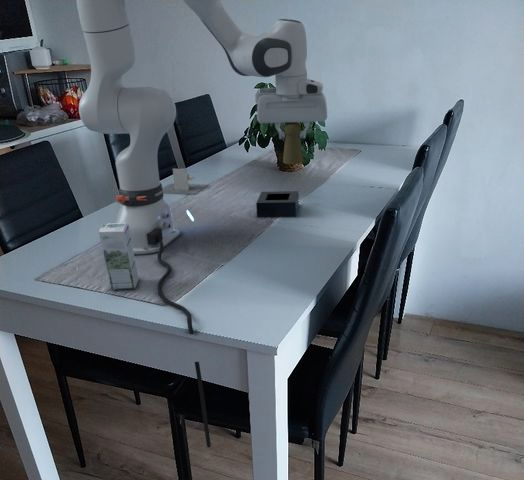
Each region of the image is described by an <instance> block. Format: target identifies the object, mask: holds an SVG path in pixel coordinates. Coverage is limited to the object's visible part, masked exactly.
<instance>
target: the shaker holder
mask: <svg viewBox="0 0 524 480" xmlns="http://www.w3.org/2000/svg"><path fill="white" fill-rule="evenodd" d="M299 196H300V195H299V190H283V191H279V190H277V191H273V190H272V191H261V192H260V194H259V195H258V198H257V201H256V202H255V204H256V205H255V206H256V208H255V209H256V218H296V217H297V214H298V210H299V205H300V204H299V203H300V202H299V201H300V198H299Z"/></svg>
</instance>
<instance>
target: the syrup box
mask: <svg viewBox="0 0 524 480" xmlns="http://www.w3.org/2000/svg"><path fill="white" fill-rule="evenodd" d="M98 235H99V240H100V244H101V248H102V252H103V259H104V263H105V267H106V272H107V275H108V280H109V284H110V289H111V291H119V290H120V291H121V290H134V289H136V287H137V284H138V282H139V273H138V268H137V264H136V259H135V254H134V253H133V247H132V242H131V236H130V230H129V225H128V223H116V222H114V223H103V224H102V225H101V227H100V229H99V231H98Z"/></svg>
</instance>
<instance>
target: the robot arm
mask: <svg viewBox="0 0 524 480" xmlns="http://www.w3.org/2000/svg"><path fill="white" fill-rule="evenodd" d="M75 1H76V2H75V3H76V9H77V15H78V19H79V22H80V26H81V30H82V33H83V37H84V41H85V46H86V49H87V54H88V58H89V63H90V79H89V84H88V86H87V88H86V90H85V91H84V93H83V94H82V95H81V97H80V99H79V103H78V113H79V118H80V120H81V122H82V124H83V125H84V126H85V128H86V129H87V130H89V131H91V132H95V133H99V134H105V135H122V134H123V135H124V134H125V135H126V134H127V135H129V139H130V142H129V145H128V146H127V147H126V148H123V150H121V151H120V152H119V153H118V154H117V156H116V158H115V163H114V164H115V168H116V174H117V179H118V184H119V185H118V186H119V187H118V194H117V195H116V196H115V197H116V198H115V200H116V202H117V204H119V209H118V211H117V212H118V213H117V216H116V220H115V223H128V225H129V230H130V236H131V242H132V247H133V253H134V255H147V254H155V253H157V261H158V263H160V264H161V265H162V266H164V267H165V268H167V270H166V272H165V273H164V274H163V275H162V276H161V278H160V279H159V280H158V283H157V293H158V296H159V298H160V299H161V300H162V301H163V302H164V303H165V304H167V305H169V306H171V307H173V308H175V309H178V310H179V311H182V312H183V313H184V314H185V316H186V322H187V329H188V334H189V335H194V328H193V321H192V320H193V319H192V318H193V317H192V314H191V313H190V311H189V310H188V309H187V308H186V307H185V306H183V305H181V304H180V303H177V302H174V301H172V300H170V299H168V297H166V296H165V295H164V292H163V283H164V282H165V281H166V279H168V277H169V276H170V274H171V272H172V266H171V265H170V264H169V263H167V262H165V261H164V260H163V259H162V255H163V252H164V248H165V247H166V246H167V245H169V244H170V243H171V242H172V241H174V240H175V239H176V238H177V237H179V236H180V234H181V233H180V232H181V231H180V230H179V229H177V228H175V224H174V220H173V219H174V218H173V215H172V214H173V213H172V210H171V206H170V205H169V203H167V202H166V201H165V199H164V193H163V189H164V188H163V185H162V183H161V181H160V173H159V163H158V153H159V147H160V144H161V142H162V140H163V138H164V136H165V135H166V133H168V131H169V130H171V128H172V127H173V125H174V123H175V121H176V118H177V117H176V116H177V107H176V104H175V103H176V102H175V101H174V99H173V97H172V95H171V94H170V92H168V91H167V89H162V88H157V87H153V86H152V87H151V86H136V87H135V86H134V87H132V86H131V87H126V86H124V84H123V75H125V74H126V73H127V72H129V71H130V70H131V69H132V68H133V67H134V65H135V63H136V61H137V51H136V47H135V42H134V39H133V34H132V29H131V25H130V20H129V16H128V13H127V9H126V0H75ZM182 2H184V4H186V6H187V7H188V8H189V9H190V10H192V12H194V14H195V15H196V17H198V18H199V19H200V21H201V22H202V23H203V25H204V26H205V27H206V28H207V30H208V31H209V32H210V33H211V35H212V36H213V38H214V39H215V40H216V41H217V42H218V43H219V45H220V46H221V47H222V49H223V50H224V52H225V55H226V57H227V60H228V63H229V65H230V67H231V69H232V70H233V71H234V72H235V74H237V75H240V76H242V77H258V78H270V77H273V76H275V86H274V87H273V86H272V87H271V86H270V87H260V88H259V89H257V91H256V92H255V94H254V99H255V100H254V101H255V103H256V105H257V107H256V120H257V122H258V123H259V124H274V128H275V130H276V131H277V132H278V139H279V140H285V134H284V131H283V130H282V129H281V124H286V123H291V122H297V123H303V126H304V129H303V130H301V132H300V134H299V136H300V140H302V139H303V140H304V139H306V136H307V135H306V133H307V130H308V129H309V127H310V123H319V122H322V123H323V122H325V121H326V120H327V119H328V104H327V98H326V95H325V94H324V92H323V91H324V84H323V83H322V82H320V81H317V80H315V79H314V80H313V79H311V78H308V71H307V65H306V64H307V63H306V62H307V58H308V43H307V42H308V41H307V35H306V34H307V32H306V28H305V25H304V24H303V23H302V22H301V21H300V20H297V19H287V18H280V19H277V20H276V21H275V23H274V24H273V25H272V26H271V27H270V28H269V29H268V30H266V31H265V32H263V33H261V34H260V35H251V34H248V33H246V32H244V31H242V30H241V29H240V28H239V27H238V25H237V24H236V22H235V21H234V20H233V19H232V17H231V16H230V14H229V13H228V12H227V10H226V9H225V7H224V5H223V2H222V0H182ZM186 214H187V215H188V217H189V218H190V220H191V221H192V222H194V221H195V219H194V217H193V216H192V214H191V212H190V211H189V210H188V209H187V210H186ZM194 368H195V374H196V379H197V387H198V393H199V399H200V407H201V414H202V415H201V416H202V421H203V422H202V423H203V427H204V435H205V443H206V448H211V447H212V444H211V438H210V437H211V436H210V430H209V421H208V415H207V407H206V400H205V392H204V385H203V378H202V371H201V365H200V361H194Z"/></svg>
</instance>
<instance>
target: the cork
mask: <svg viewBox="0 0 524 480" xmlns="http://www.w3.org/2000/svg"><path fill="white" fill-rule="evenodd" d="M301 131H302V126H301V124H300V122H291V123H284V125H283V127H282V132H284V135H285V138H284V146H283V158H282V163H283V164H286V165H298V164H302V163H303V162H304V158H303V151H302V144H301V139H300V136H301V135H300V132H301Z"/></svg>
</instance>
